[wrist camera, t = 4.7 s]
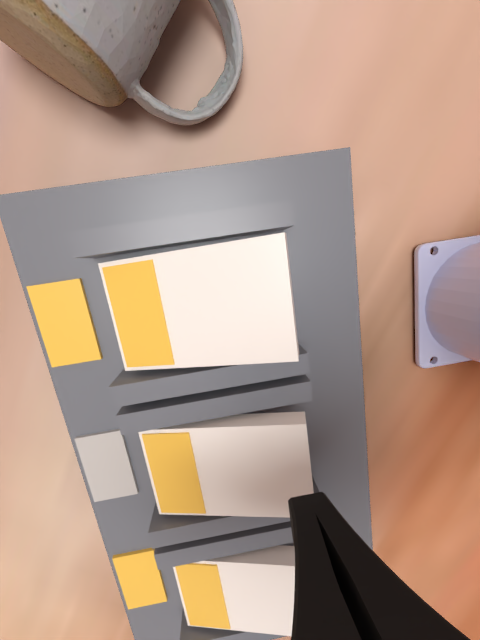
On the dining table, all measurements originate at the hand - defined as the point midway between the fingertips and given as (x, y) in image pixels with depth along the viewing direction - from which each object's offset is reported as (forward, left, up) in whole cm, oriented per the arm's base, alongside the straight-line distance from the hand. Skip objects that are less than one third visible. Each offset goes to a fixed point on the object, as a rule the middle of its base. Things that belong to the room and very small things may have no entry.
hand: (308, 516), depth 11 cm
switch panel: (+3, 0, -8) cm, 9 cm away
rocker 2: (+3, 0, -4) cm, 5 cm away
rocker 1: (+3, -8, -4) cm, 9 cm away
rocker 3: (+3, +8, -4) cm, 9 cm away
